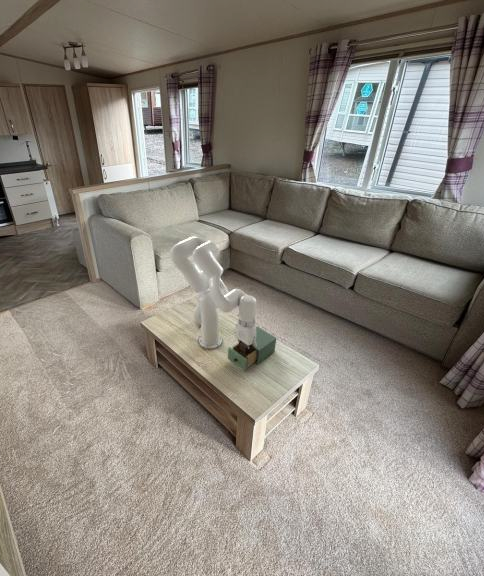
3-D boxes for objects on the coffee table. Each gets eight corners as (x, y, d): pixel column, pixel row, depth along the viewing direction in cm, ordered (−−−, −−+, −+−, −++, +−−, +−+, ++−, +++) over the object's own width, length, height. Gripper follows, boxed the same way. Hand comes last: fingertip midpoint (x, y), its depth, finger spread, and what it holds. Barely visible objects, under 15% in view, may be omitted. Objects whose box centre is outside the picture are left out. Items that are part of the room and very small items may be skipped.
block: (239, 349, 149) (239, 343, 147) (244, 346, 151) (244, 340, 149) (245, 354, 146) (245, 347, 144) (250, 350, 148) (251, 344, 146)
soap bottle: (209, 311, 189) (209, 270, 174) (222, 319, 182) (223, 277, 166) (189, 322, 181) (186, 280, 165) (201, 331, 173) (200, 288, 157)
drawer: (242, 372, 145) (243, 361, 141) (226, 359, 152) (226, 349, 148) (261, 358, 152) (262, 348, 148) (244, 347, 160) (245, 336, 156)
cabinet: (257, 364, 150) (259, 350, 145) (239, 350, 159) (239, 337, 154) (274, 351, 157) (276, 338, 153) (256, 339, 166) (257, 326, 161)
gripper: (228, 315, 143) (227, 344, 152) (255, 332, 132) (252, 362, 141) (238, 309, 147) (237, 338, 156) (266, 325, 136) (263, 355, 145)
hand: (244, 349), depth 149 cm, fingers closed on block, 4 cm apart
